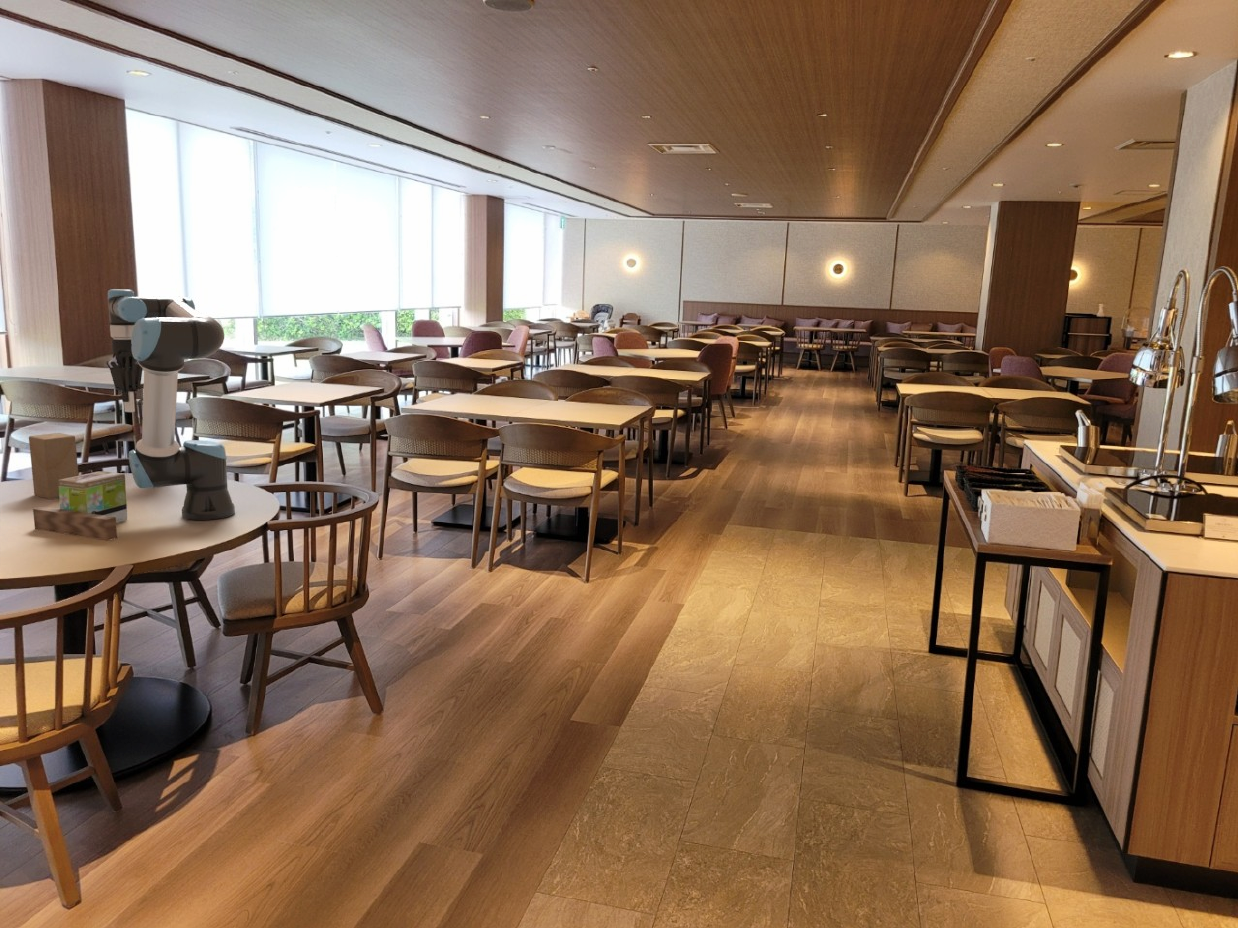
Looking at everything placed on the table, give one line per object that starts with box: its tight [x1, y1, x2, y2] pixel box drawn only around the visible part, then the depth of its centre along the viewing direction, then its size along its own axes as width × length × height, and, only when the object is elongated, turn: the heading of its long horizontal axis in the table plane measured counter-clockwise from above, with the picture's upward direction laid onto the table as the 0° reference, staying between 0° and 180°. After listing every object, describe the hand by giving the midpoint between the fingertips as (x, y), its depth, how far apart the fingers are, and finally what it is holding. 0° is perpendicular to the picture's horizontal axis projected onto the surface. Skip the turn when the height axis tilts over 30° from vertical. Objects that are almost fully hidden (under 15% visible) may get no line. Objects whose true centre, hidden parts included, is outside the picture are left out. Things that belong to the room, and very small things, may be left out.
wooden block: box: [28, 432, 80, 500], centre depth 300 cm, size 10×10×20 cm
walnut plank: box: [32, 506, 118, 541], centre depth 257 cm, size 28×3×6 cm, turn 70°
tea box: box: [58, 470, 128, 524], centre depth 266 cm, size 15×10×15 cm, turn 166°
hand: (129, 411), depth 293 cm, fingers closed
